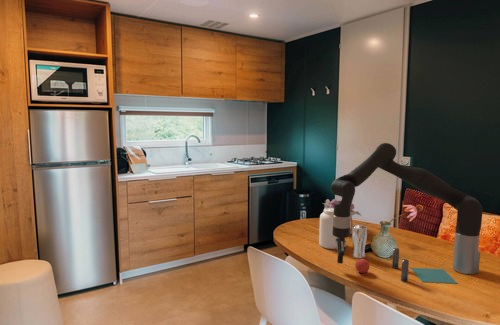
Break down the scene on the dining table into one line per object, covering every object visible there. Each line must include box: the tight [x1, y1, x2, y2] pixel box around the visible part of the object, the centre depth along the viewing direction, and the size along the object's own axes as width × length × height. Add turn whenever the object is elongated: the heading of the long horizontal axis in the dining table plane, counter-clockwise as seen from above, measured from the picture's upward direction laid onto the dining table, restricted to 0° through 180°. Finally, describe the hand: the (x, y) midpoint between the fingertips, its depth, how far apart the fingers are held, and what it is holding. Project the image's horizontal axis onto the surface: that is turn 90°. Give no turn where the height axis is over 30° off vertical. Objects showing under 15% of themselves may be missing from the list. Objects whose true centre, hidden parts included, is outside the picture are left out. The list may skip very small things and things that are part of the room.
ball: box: [354, 258, 370, 274], centre depth 157 cm, size 6×6×6 cm
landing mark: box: [410, 267, 458, 285], centre depth 154 cm, size 14×14×1 cm
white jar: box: [318, 207, 337, 250], centre depth 190 cm, size 12×12×20 cm
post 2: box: [400, 258, 410, 283], centre depth 149 cm, size 3×3×9 cm
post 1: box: [391, 247, 400, 270], centre depth 161 cm, size 3×3×9 cm
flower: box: [322, 196, 362, 235], centre depth 214 cm, size 20×22×25 cm
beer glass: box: [351, 224, 368, 259], centre depth 175 cm, size 7×7×15 cm
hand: (340, 262), depth 158 cm, fingers closed
